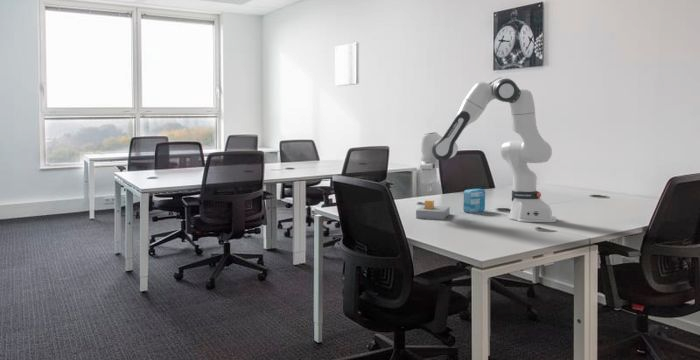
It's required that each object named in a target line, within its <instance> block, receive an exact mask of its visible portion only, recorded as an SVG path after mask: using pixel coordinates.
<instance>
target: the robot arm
mask: <svg viewBox="0 0 700 360" xmlns="http://www.w3.org/2000/svg"><path fill="white" fill-rule="evenodd" d="M492 100H497V101H500V102H502V103H509V105H510V115H511V128H512V130H513V131H514V132H515V133H516V134H517V135H518V136H519V137H520V138H521V139H518V140H517V139H514V140H508V141H505V142H504V143H502V145H501V147H500V155H501V157H502V159H503V160H505V162H506V163H507V164H508V166H509V168H510V170H511V174H512V190H511V197H510V198H511V199H510V200H511V207H510V212H509V215H508V219H510V220H514V221H515V220H516V221H519V222H525V223H528V222H529V223H555V222H557V217H556V216H554V215H553V211H552V208H551V206H550V205H549V204H548V203H547V202H545V201H544V200H542V198H541V197H542V193H541V192H540V191H538V190H537V175H536V173H535V172H534V171H532V170H531V169H530V168H529V166H528V164H542V163H547V162H548V161H549V160H550V159H551V158H552V155H553V151H552V146H551V145H550V144H549V142H547V141H546V140H545V139H544V138H543V137H542V135H541V134H540V132H539V129H538V126H537V120H536V108H535V107H536V106H535V100H534V96H533V94H532V92H531V91H530V90H528V89H523V88H522V89H520V88H519V86H518V85H517V84H516V83H515V81H514V80H512V79H511V78H509V77H499V78H496V79H494V80H493V81H491V82H490V83H487V82H485V81H478V82H477V83H475V84H474V85H473V86H472V88H471V89H470V90H469V92H468V93H467V94H466V95H465V98H463V100H462V103H461V104H460V107H459V109H458V112H457V113H456V115H455V117H454V120H453V121H452V122H451V124H450V126H449V127H448V129H447V130H446V132H445V133H444V135H443V136H442V135H441V134H439V133H438V132H436V131H435V132H430V133H429V132H428V133H425V134H423V135H422V138H421V145H420V146H421V148H420V149H421V150H420V151H421V157H420V165H419V169H421V170H420V179H421V185H425V186H426V192H431V191H432V190H433V183H434V182H436V181H437V177H438V176H437V169H438V168H439V161H440V162H441V161H446V160H447V161H448V160H449V159H452V158H453V157H455V156H456V155H457V153H458V149H459V148H458V145H457V140H458V139H459V137H460V136H461V134H462V133H463V132H464V130H465V128H467V127H468V126H470V125H471V124H472V123H475V122H476V121H477V120H478V119H479V118H480V117H481V115H482V114H483V113H484V112H485V110H486V108H487V107H488V105H489V103H490V102H492Z"/></svg>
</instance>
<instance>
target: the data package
mask: <svg viewBox="0 0 700 360" xmlns="http://www.w3.org/2000/svg"><path fill="white" fill-rule="evenodd" d="M462 206H463V211H464V212H465V213H469V214H473V213H474V214H475V213H479V212H480V213H482V212H484V211H485V209H486V190H485V189H483V188H471V189H465V190H464V191H463V205H462Z"/></svg>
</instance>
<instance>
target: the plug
mask: <svg viewBox="0 0 700 360" xmlns="http://www.w3.org/2000/svg"><path fill="white" fill-rule="evenodd" d="M424 205H425V209H434V206H435V200H434V199H426V200H424Z"/></svg>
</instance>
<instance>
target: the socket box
mask: <svg viewBox="0 0 700 360" xmlns="http://www.w3.org/2000/svg"><path fill="white" fill-rule="evenodd" d="M450 207H451V206H444V205H443V206H442V205H440V206H439V205H434V209H425V204H424V205H422V206H420V207H419V208H417V209H416V210H415V218H416V219H424V218H426V219H427V220H442V221H443V220H445V219H446V218H447V217H448V216H449V215H450V214H451V212H450V211H451V209H450Z"/></svg>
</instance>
